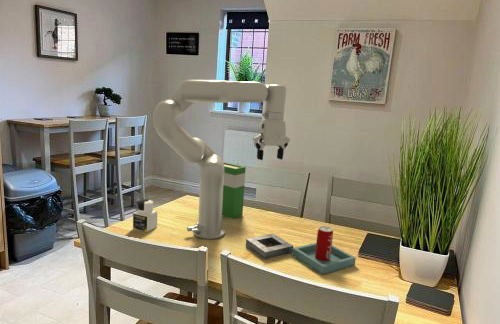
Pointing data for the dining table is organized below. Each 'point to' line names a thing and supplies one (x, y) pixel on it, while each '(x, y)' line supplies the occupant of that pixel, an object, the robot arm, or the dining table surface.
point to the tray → (335, 263)
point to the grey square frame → (277, 250)
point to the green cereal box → (233, 190)
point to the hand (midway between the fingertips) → (269, 159)
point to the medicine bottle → (145, 216)
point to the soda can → (324, 243)
